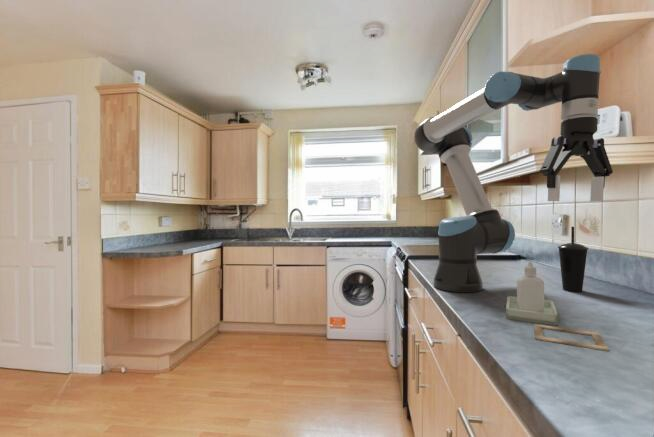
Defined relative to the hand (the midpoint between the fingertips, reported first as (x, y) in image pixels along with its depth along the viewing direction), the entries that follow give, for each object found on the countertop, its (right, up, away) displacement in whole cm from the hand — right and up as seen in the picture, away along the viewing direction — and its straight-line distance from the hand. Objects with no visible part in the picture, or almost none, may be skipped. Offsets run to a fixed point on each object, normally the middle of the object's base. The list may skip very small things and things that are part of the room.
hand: (575, 201), depth 84 cm
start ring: (-17, -28, -20) cm, 38 cm away
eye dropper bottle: (-15, -27, -5) cm, 32 cm away
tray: (-15, -28, -6) cm, 32 cm away
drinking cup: (+12, -27, +17) cm, 34 cm away
